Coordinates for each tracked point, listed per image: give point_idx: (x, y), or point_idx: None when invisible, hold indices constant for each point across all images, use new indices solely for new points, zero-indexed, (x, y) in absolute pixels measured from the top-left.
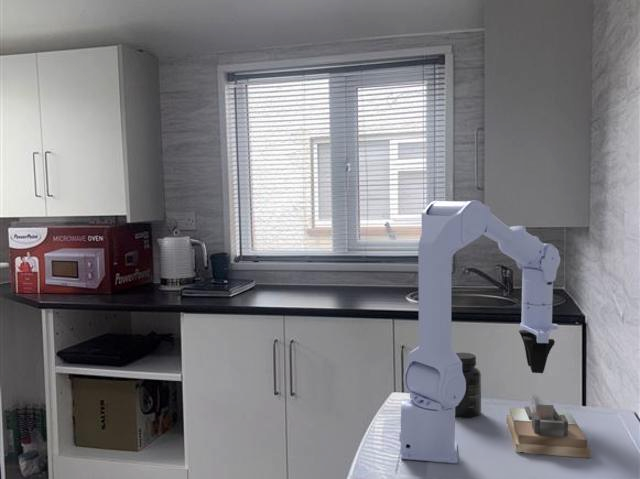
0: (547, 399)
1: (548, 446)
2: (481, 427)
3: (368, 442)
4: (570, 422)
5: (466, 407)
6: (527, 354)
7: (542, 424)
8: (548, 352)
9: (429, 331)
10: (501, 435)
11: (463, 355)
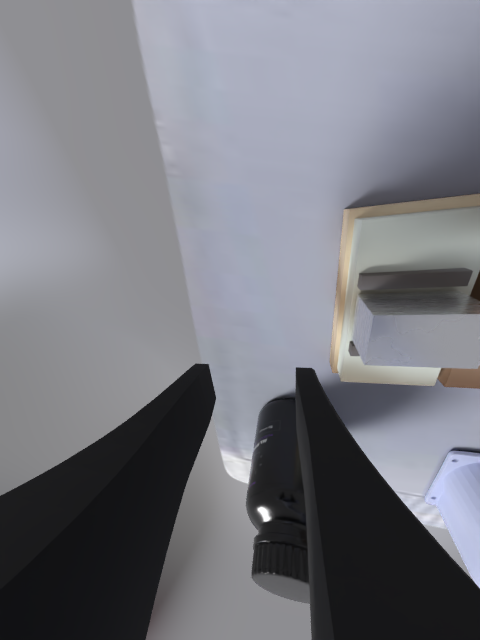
0: (420, 324)
1: None
2: (363, 404)
3: (429, 524)
4: (476, 231)
5: None
6: (196, 452)
7: None
8: (407, 509)
9: None
10: None
11: (289, 590)
